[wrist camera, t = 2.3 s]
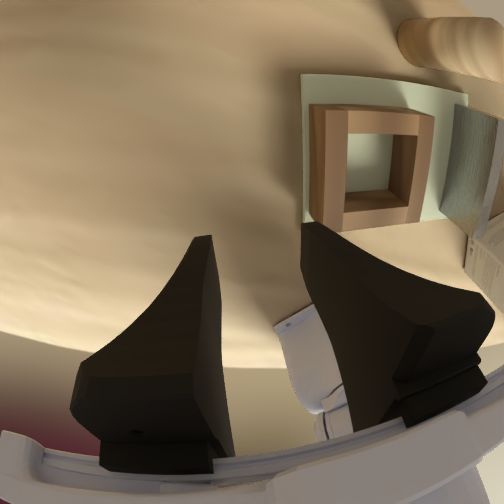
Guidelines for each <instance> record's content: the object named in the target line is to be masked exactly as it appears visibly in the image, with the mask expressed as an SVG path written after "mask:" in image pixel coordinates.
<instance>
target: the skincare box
mask: <svg viewBox="0 0 504 504" xmlns="http://www.w3.org/2000/svg"><path fill="white" fill-rule="evenodd" d="M464 272H465V273H466V274H467V275H468V276H469V277H470V278H471V279H472V280H473V282H474V283H475V284H476V285H477V286H478V287H479V288H480V289H481V290H482V291H483V292H484V293H485V294H486V296H487V297H488V298H489V299H490V300H491V301H492V302H493V303H494V305H495V306H496V307H497V308H498V309H499V310H500V311H501V313H502V314H503V315H504V212H503V213H501V214H499V215H498V216H496V217H494V218H493V219H491V220H489V221H488V223H487V226H486V230H485V233H484V236H483V238H478V239H473V240H472V239H471V238H470V237H469V236H468V244H467V252H466V260H465V268H464Z"/></svg>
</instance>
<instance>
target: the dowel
mask: <svg viewBox="0 0 504 504" xmlns="http://www.w3.org/2000/svg"><path fill="white" fill-rule="evenodd" d="M397 42H398V46H399V49H400V51H401V53H402V55H403V56H404V58H405V59H406V60H407V61H408V62H409V63H411V64H412V65H414V66H417V67H423V68H430V69H437V70H443V71H449V72H455V73H460V74H465V75H470V76H474V77H479V78H483V79H487V80H491V81H495V82H498V83H504V28H503V26H502V25H501V24H500V23H499V22H498V21H496V20H494V19H492V18H484V17H439V18H423V19H411V20H406V21H404V22H403V23H402V24H401V25H400V27H399V29H398V32H397Z"/></svg>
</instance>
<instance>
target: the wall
mask: <svg viewBox="0 0 504 504" xmlns="http://www.w3.org/2000/svg"><path fill="white" fill-rule="evenodd" d="M503 157H504V120H503V119H501V118H498V117H496V116H493V115H491V114H488V113H485V112H482V111H480V110H477V109H474V108H471V107H468V106H465V105H460V104H455V106H454V119H453V129H452V138H451V146H450V153H449V160H448V166H447V172H446V178H445V184H444V189H443V194H442V199H441V203H440V208H439V211H440V212H441V213H443V214H444V215H445V216H446V217H447V218H449V219H450V220H451V221H452V222H453V223H454V224H456V225H457V226H458V227H459V228H460V229H461V230H462V231H464V232H465V233H466V234H467V235H468V236H469V237H470V238H471V239H472V240H473V239H478V238H483V236H484V233H485V230H486V226H487V223H488V220H489V216H490V213H491V209H492V206H493V202H494V198H495V194H496V190H497V186H498V182H499V177H500V173H501V168H502V162H503Z"/></svg>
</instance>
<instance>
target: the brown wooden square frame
mask: <svg viewBox="0 0 504 504" xmlns="http://www.w3.org/2000/svg"><path fill="white" fill-rule="evenodd" d="M434 123H435V117H434V116H431V115H428V114H426V113H423V112H420V111H417V110H414V109H411V108H402V107H391V106H377V105H359V104H309V155H310V171H309V214H310V216H311V217H312V219H313V220H314V221H318V222H320V223H321V224H323V225H325V226H326V227H328V228H329V229H331V230H332V231H334V232H335V233H336V232H344V231H351V230H359V229H367V228H375V227H383V226H391V225H399V224H407V223H415V222H419V221H420V217H421V212H422V207H423V202H424V197H425V191H426V185H427V179H428V173H429V166H430V159H431V152H432V143H433V134H434ZM348 134H393V146H392V157H391V167H390V176H389V185H388V190H373V191H360V192H347V193H345V188H346V171H347V150H348Z"/></svg>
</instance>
